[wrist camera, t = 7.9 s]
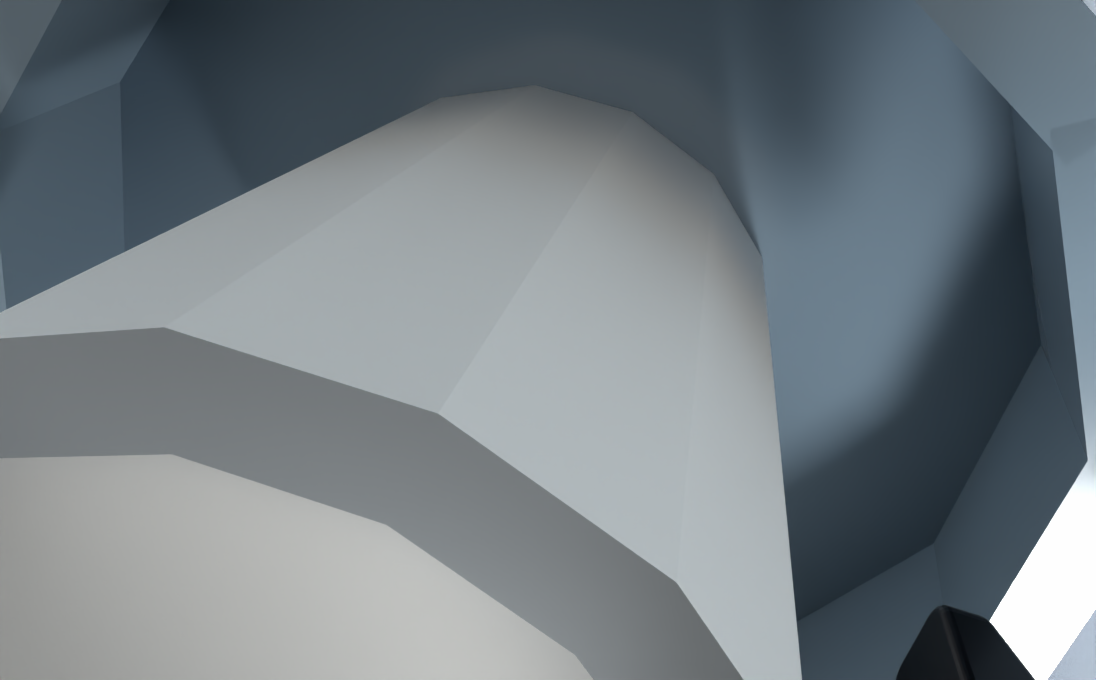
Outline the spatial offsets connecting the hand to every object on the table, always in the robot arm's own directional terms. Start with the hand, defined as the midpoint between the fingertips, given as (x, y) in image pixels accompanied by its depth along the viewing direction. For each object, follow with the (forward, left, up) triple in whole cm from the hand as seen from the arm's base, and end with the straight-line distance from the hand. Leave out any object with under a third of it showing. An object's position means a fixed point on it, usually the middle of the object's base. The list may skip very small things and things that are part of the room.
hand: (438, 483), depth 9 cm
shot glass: (0, 0, -4) cm, 4 cm away
